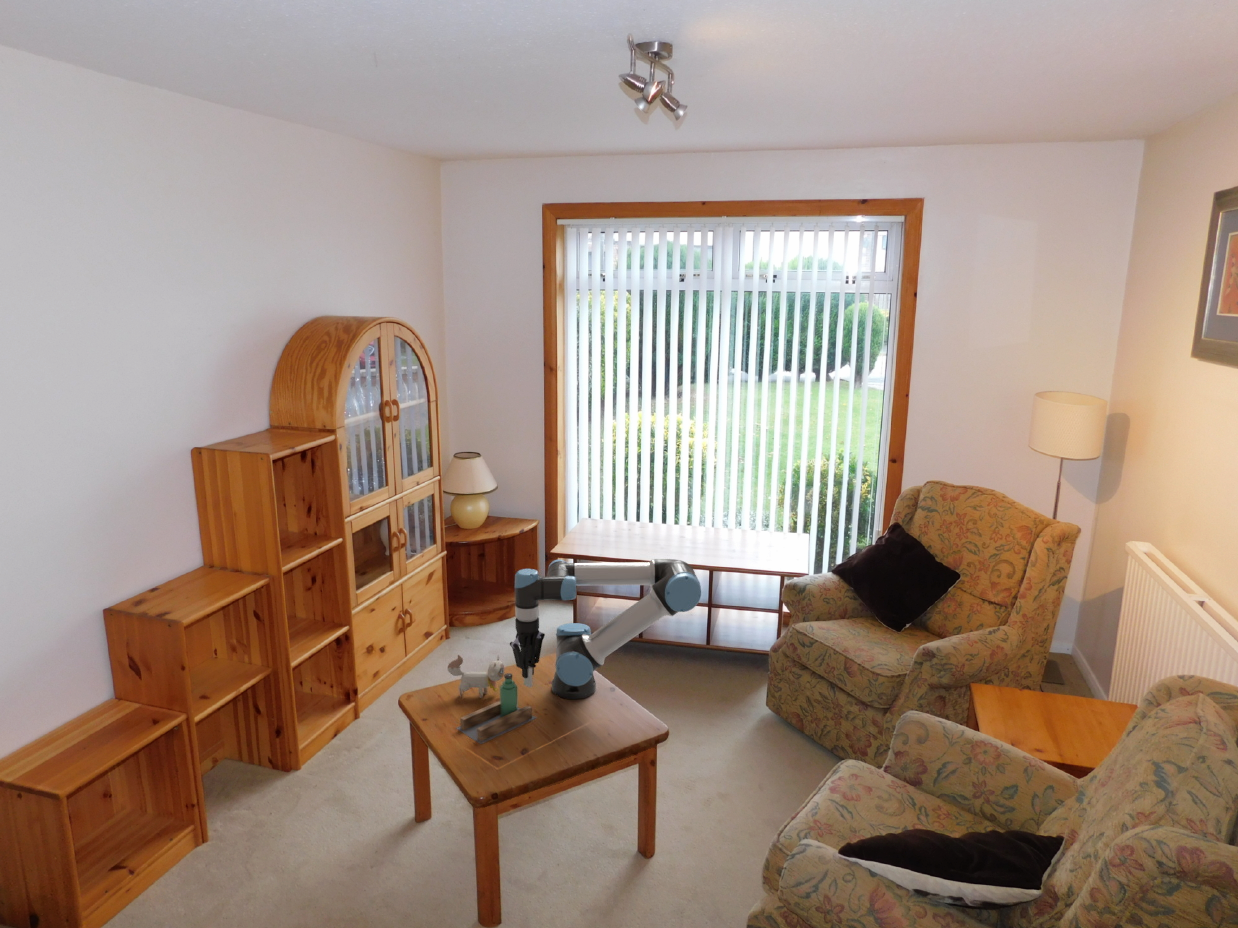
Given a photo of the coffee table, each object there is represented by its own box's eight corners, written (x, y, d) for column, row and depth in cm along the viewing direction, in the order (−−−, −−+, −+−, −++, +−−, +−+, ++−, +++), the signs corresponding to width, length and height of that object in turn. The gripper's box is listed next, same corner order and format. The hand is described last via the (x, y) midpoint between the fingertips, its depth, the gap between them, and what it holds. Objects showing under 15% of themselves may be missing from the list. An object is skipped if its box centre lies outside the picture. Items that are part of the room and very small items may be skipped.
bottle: (510, 711, 269) (509, 669, 266) (521, 717, 265) (520, 675, 262) (497, 717, 265) (496, 674, 262) (507, 723, 262) (506, 680, 258)
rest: (511, 705, 272) (511, 695, 272) (532, 717, 265) (531, 707, 264) (460, 728, 258) (460, 717, 258) (481, 741, 251) (480, 730, 250)
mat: (511, 704, 274) (511, 703, 274) (536, 718, 265) (536, 717, 265) (455, 729, 259) (455, 727, 259) (480, 745, 250) (480, 744, 250)
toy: (502, 703, 275) (501, 661, 271) (445, 702, 275) (443, 660, 272) (506, 690, 283) (505, 649, 280) (451, 689, 284) (449, 648, 280)
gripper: (535, 608, 271) (536, 675, 276) (503, 619, 262) (505, 688, 267) (550, 615, 266) (550, 682, 271) (518, 626, 257) (519, 696, 262)
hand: (528, 685), depth 269 cm, fingers closed
